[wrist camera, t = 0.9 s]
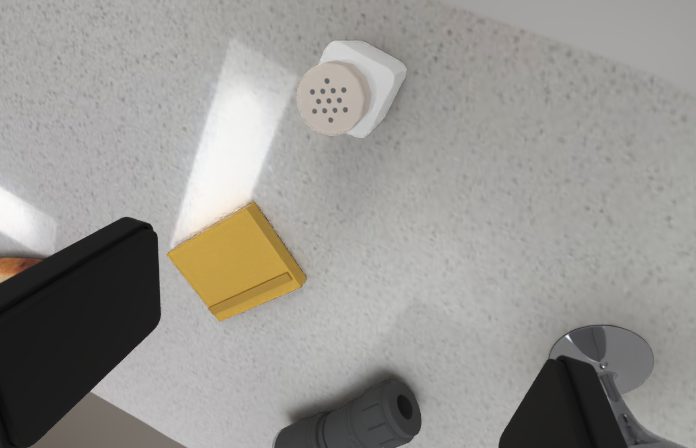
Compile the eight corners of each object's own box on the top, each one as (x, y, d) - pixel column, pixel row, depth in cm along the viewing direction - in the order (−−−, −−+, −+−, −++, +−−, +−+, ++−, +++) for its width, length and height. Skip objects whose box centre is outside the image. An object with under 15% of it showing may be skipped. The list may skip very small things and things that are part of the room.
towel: (254, 201, 32) (244, 209, 30) (307, 278, 34) (300, 289, 32) (176, 246, 36) (163, 255, 34) (227, 312, 38) (217, 324, 36)
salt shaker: (331, 94, 27) (275, 119, 18) (356, 36, 25) (306, 34, 16) (382, 122, 27) (349, 160, 18) (411, 66, 25) (389, 79, 16)
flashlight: (391, 362, 36) (382, 411, 31) (429, 401, 36) (425, 455, 32) (284, 416, 42) (262, 463, 38) (317, 448, 43) (300, 498, 39)
